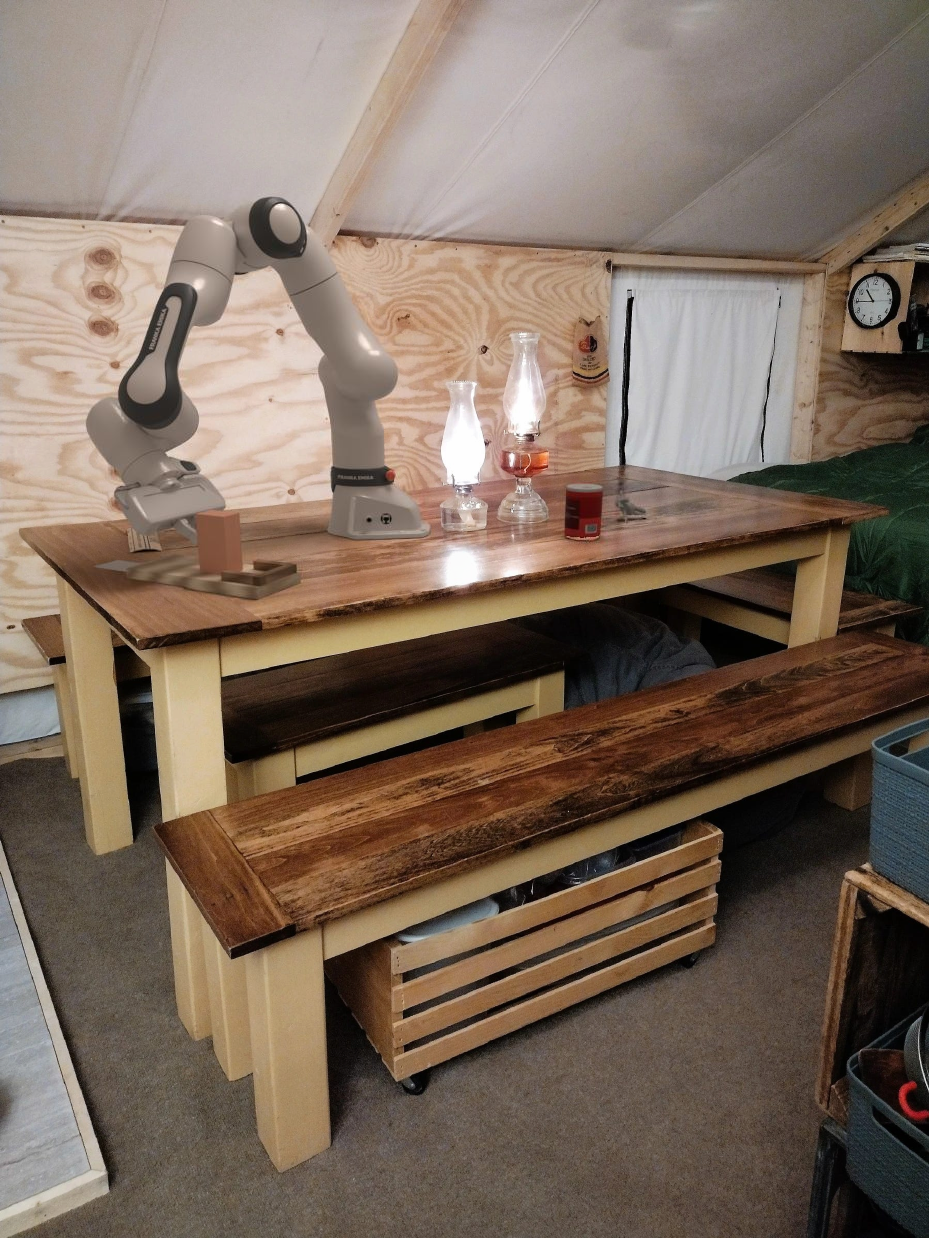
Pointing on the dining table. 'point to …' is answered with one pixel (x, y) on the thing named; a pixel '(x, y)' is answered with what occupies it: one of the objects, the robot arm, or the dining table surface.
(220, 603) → the dining table surface
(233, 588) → the rail deck
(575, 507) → the canned food
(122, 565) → the plate
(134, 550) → the newspaper
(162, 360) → the robot arm
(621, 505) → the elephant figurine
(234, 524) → the block
